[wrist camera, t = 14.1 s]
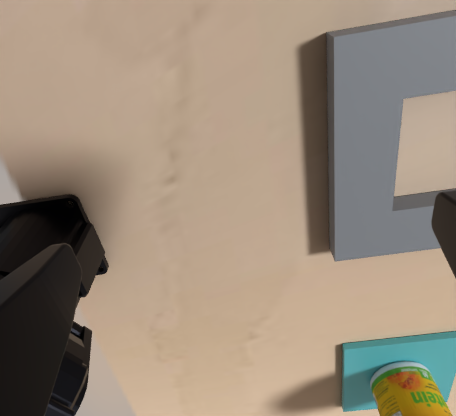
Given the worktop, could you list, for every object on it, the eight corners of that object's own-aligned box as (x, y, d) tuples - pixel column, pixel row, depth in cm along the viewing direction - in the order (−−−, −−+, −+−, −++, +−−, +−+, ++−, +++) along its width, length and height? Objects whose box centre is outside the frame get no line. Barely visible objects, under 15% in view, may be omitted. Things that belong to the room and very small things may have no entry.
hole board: (329, 247, 26) (334, 261, 25) (326, 32, 18) (334, 36, 17) (538, 220, 25) (554, 233, 24) (625, -20, 17) (656, -20, 16)
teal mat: (341, 405, 37) (343, 411, 37) (342, 343, 32) (344, 349, 31) (443, 395, 36) (446, 401, 36) (462, 330, 31) (466, 336, 31)
